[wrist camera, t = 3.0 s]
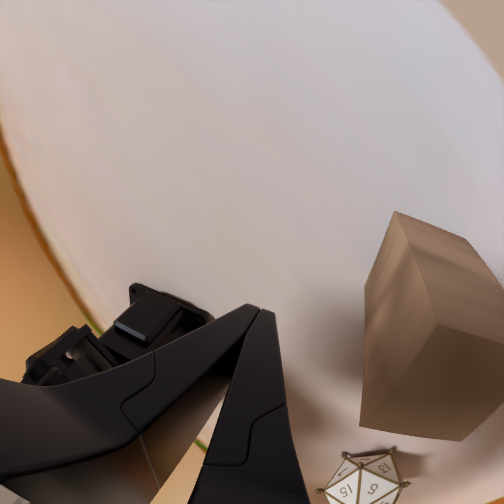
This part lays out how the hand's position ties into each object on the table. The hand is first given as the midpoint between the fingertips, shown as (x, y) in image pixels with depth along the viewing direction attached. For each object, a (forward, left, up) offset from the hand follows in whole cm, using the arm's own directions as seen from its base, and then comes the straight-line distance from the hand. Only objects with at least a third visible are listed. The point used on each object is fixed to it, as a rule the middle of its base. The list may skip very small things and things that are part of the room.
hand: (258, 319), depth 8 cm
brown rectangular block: (0, -6, -8) cm, 10 cm away
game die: (-20, -13, -8) cm, 25 cm away
